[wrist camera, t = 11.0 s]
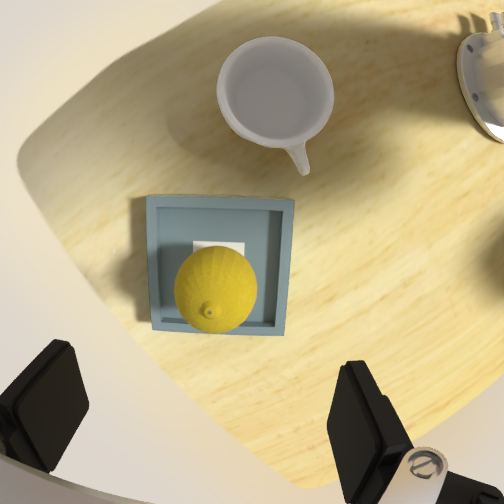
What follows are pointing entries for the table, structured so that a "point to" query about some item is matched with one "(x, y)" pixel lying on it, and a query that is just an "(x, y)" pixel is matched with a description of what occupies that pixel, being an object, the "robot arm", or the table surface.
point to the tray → (220, 234)
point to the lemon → (215, 289)
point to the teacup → (276, 95)
